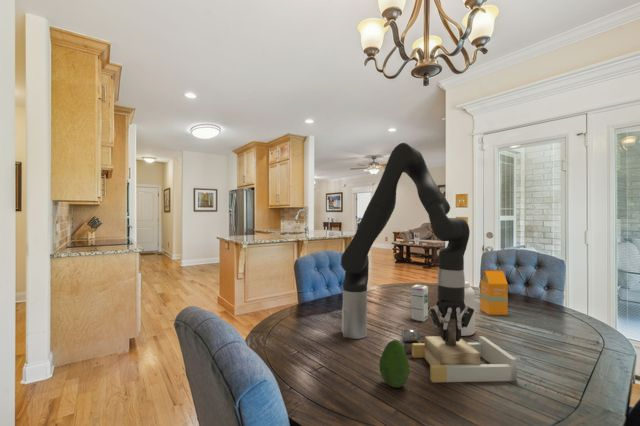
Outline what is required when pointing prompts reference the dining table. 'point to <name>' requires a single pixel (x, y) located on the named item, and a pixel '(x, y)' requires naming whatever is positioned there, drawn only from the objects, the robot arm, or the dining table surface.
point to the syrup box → (419, 302)
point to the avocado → (394, 364)
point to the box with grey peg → (450, 349)
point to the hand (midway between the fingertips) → (450, 340)
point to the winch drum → (409, 339)
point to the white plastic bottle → (470, 302)
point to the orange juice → (494, 293)
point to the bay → (474, 365)
